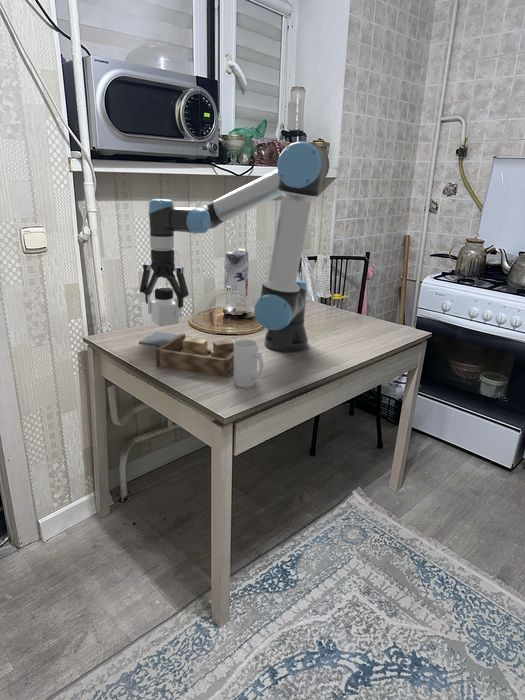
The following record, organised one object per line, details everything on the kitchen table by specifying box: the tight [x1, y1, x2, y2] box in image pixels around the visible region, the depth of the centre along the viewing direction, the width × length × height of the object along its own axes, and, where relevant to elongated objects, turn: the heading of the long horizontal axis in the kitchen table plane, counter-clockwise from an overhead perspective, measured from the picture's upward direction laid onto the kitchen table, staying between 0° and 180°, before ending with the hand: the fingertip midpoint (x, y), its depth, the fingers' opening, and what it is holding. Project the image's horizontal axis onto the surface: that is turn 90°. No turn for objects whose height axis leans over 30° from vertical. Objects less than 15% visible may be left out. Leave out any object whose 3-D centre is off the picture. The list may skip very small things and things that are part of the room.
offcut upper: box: [212, 339, 235, 354], centre depth 150 cm, size 6×3×3 cm, turn 115°
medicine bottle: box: [150, 286, 180, 327], centre depth 162 cm, size 7×7×12 cm
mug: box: [233, 339, 264, 389], centre depth 132 cm, size 10×7×12 cm, turn 46°
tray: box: [155, 333, 234, 378], centre depth 148 cm, size 23×17×5 cm
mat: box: [138, 331, 193, 348], centre depth 166 cm, size 14×12×1 cm
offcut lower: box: [210, 349, 232, 359], centre depth 151 cm, size 8×4×3 cm, turn 80°
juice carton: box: [223, 248, 249, 297], centre depth 197 cm, size 9×10×27 cm
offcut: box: [182, 337, 208, 356], centre depth 154 cm, size 7×4×5 cm, turn 73°
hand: (164, 314), depth 163 cm, fingers closed on medicine bottle, 10 cm apart
